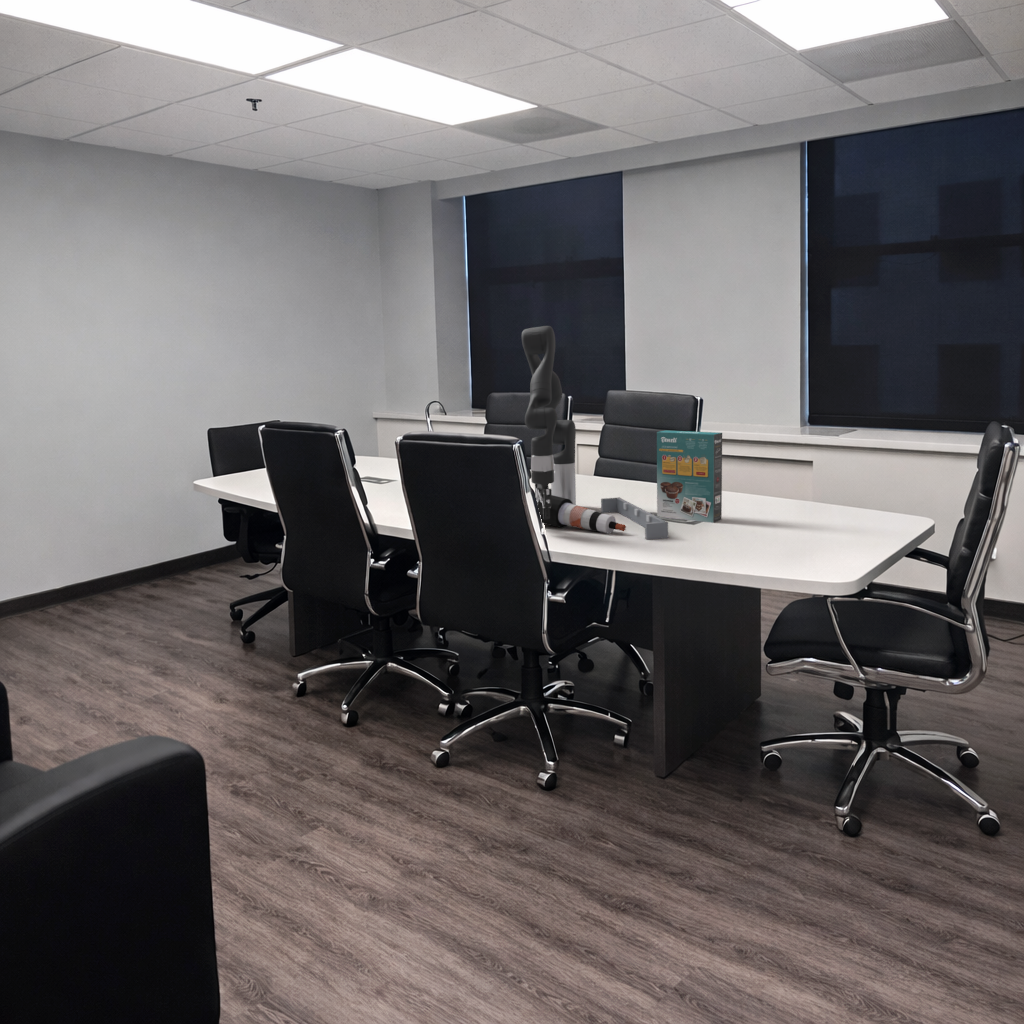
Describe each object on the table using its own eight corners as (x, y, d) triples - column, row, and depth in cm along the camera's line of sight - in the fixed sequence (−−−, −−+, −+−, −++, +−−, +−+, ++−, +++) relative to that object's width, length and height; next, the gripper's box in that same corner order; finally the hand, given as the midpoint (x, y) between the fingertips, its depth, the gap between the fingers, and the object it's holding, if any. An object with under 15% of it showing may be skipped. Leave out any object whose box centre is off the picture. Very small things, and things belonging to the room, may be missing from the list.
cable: (618, 549, 298) (613, 525, 292) (536, 527, 319) (529, 504, 313) (635, 530, 304) (629, 506, 298) (552, 510, 325) (546, 487, 319)
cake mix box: (721, 519, 317) (722, 432, 312) (713, 522, 313) (713, 434, 307) (665, 513, 331) (665, 430, 326) (657, 516, 327) (656, 432, 321)
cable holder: (601, 512, 338) (601, 498, 337) (619, 510, 340) (619, 497, 339) (646, 539, 291) (646, 523, 290) (667, 537, 292) (667, 522, 291)
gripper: (526, 466, 310) (528, 513, 313) (536, 472, 296) (537, 521, 299) (548, 465, 311) (549, 512, 314) (558, 470, 297) (560, 520, 300)
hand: (543, 516), depth 306 cm, fingers open, 8 cm apart
